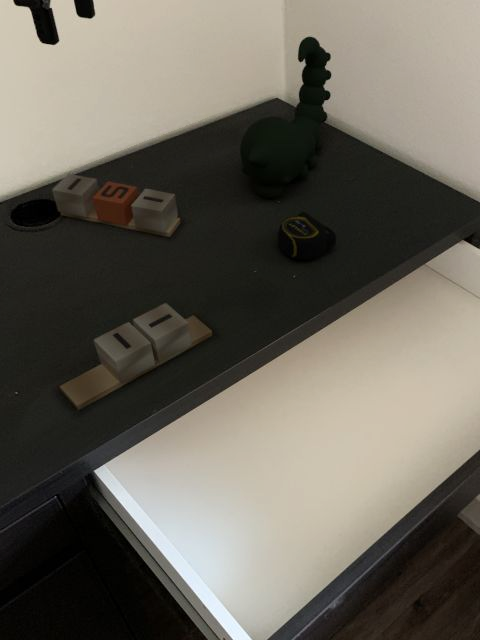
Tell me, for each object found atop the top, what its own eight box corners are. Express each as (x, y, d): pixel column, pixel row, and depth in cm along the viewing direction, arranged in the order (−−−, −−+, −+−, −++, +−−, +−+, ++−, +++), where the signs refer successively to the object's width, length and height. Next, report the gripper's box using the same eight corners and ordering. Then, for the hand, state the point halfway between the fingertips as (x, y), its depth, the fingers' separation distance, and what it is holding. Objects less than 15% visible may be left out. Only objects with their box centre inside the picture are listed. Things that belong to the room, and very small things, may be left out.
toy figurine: (287, 146, 113) (220, 208, 96) (293, 23, 100) (216, 69, 83) (339, 158, 111) (279, 224, 94) (352, 33, 98) (285, 84, 81)
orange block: (97, 219, 93) (92, 197, 90) (112, 203, 96) (107, 180, 93) (126, 225, 92) (122, 202, 90) (140, 208, 95) (136, 186, 93)
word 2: (80, 412, 71) (70, 384, 68) (59, 389, 73) (48, 361, 70) (214, 337, 79) (211, 309, 76) (192, 318, 81) (188, 290, 78)
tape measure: (337, 252, 91) (339, 229, 88) (298, 271, 88) (299, 248, 85) (306, 229, 94) (307, 206, 91) (267, 246, 91) (267, 223, 88)
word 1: (59, 216, 95) (51, 189, 92) (75, 200, 98) (68, 172, 94) (169, 238, 92) (164, 211, 89) (181, 221, 95) (178, 193, 91)
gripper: (35, -161, 72) (71, 5, 84) (-47, -134, 62) (6, 48, 75) (98, -155, 70) (125, 13, 82) (24, -127, 61) (66, 57, 73)
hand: (68, 29), depth 79 cm, fingers open, 8 cm apart
